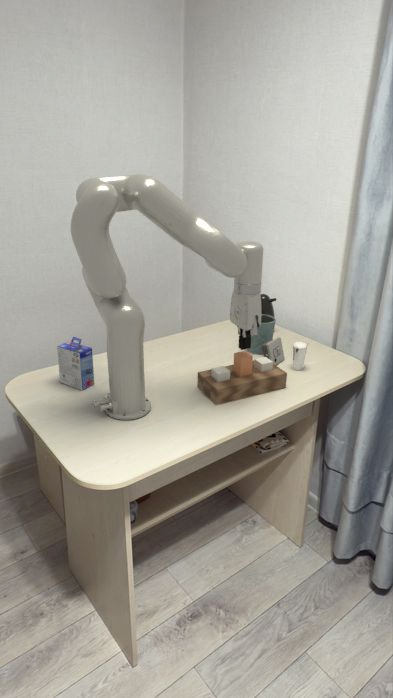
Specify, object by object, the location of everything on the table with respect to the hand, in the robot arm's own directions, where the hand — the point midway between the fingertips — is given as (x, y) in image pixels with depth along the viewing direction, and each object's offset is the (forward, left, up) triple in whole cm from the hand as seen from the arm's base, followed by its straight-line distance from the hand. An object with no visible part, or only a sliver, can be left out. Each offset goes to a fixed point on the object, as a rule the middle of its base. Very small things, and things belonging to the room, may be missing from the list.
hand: (244, 348), depth 137 cm
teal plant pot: (+21, +22, -13) cm, 33 cm away
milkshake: (+24, +3, -13) cm, 27 cm away
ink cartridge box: (-44, +24, -13) cm, 52 cm away
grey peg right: (+7, 0, -12) cm, 14 cm away
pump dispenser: (+32, +37, -13) cm, 50 cm away
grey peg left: (-8, 0, -12) cm, 14 cm away
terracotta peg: (0, 0, -8) cm, 9 cm away
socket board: (0, 0, -13) cm, 13 cm away
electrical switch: (+19, +11, -13) cm, 25 cm away
